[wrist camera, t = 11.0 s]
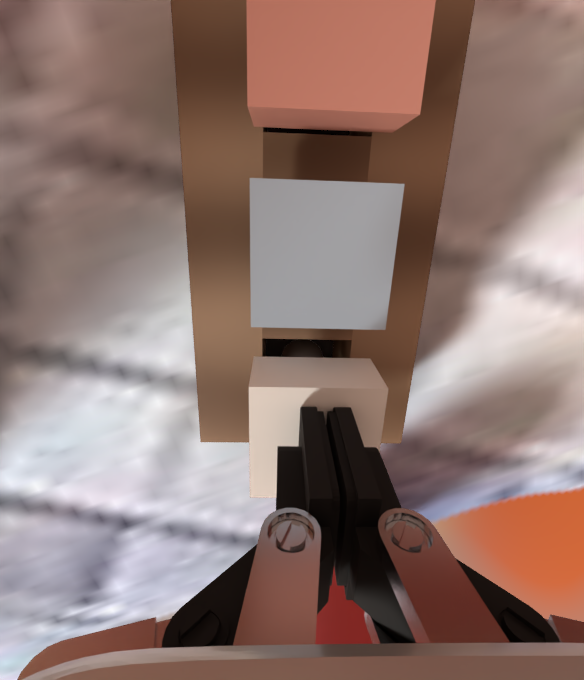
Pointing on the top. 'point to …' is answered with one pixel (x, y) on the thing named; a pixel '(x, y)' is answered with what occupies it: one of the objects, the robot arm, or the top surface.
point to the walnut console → (297, 164)
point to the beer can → (341, 620)
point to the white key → (306, 403)
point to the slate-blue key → (322, 252)
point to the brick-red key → (337, 63)
